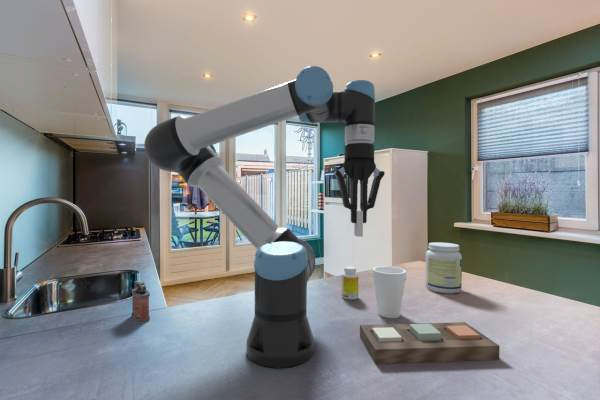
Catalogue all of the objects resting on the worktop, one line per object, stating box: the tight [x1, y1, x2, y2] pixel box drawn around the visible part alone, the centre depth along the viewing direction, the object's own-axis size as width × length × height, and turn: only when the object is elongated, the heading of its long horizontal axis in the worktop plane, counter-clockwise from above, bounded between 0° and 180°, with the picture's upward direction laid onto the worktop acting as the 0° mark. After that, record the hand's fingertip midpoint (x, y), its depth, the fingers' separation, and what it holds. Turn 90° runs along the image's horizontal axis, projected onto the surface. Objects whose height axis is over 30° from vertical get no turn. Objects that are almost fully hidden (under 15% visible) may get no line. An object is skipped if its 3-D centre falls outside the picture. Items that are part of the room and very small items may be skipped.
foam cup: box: [372, 265, 407, 319], centre depth 90 cm, size 10×9×13 cm
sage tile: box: [409, 323, 441, 341], centre depth 70 cm, size 5×5×2 cm
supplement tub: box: [425, 241, 463, 295], centre depth 114 cm, size 12×12×17 cm
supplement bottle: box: [341, 265, 359, 300], centre depth 104 cm, size 6×6×10 cm
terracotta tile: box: [446, 325, 480, 340], centre depth 71 cm, size 5×5×2 cm
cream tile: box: [372, 327, 402, 342], centre depth 69 cm, size 5×5×2 cm
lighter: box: [131, 280, 151, 324], centre depth 86 cm, size 8×3×10 cm, turn 47°
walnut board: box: [359, 321, 500, 365], centre depth 70 cm, size 27×12×3 cm, turn 94°
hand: (358, 235), depth 79 cm, fingers closed
